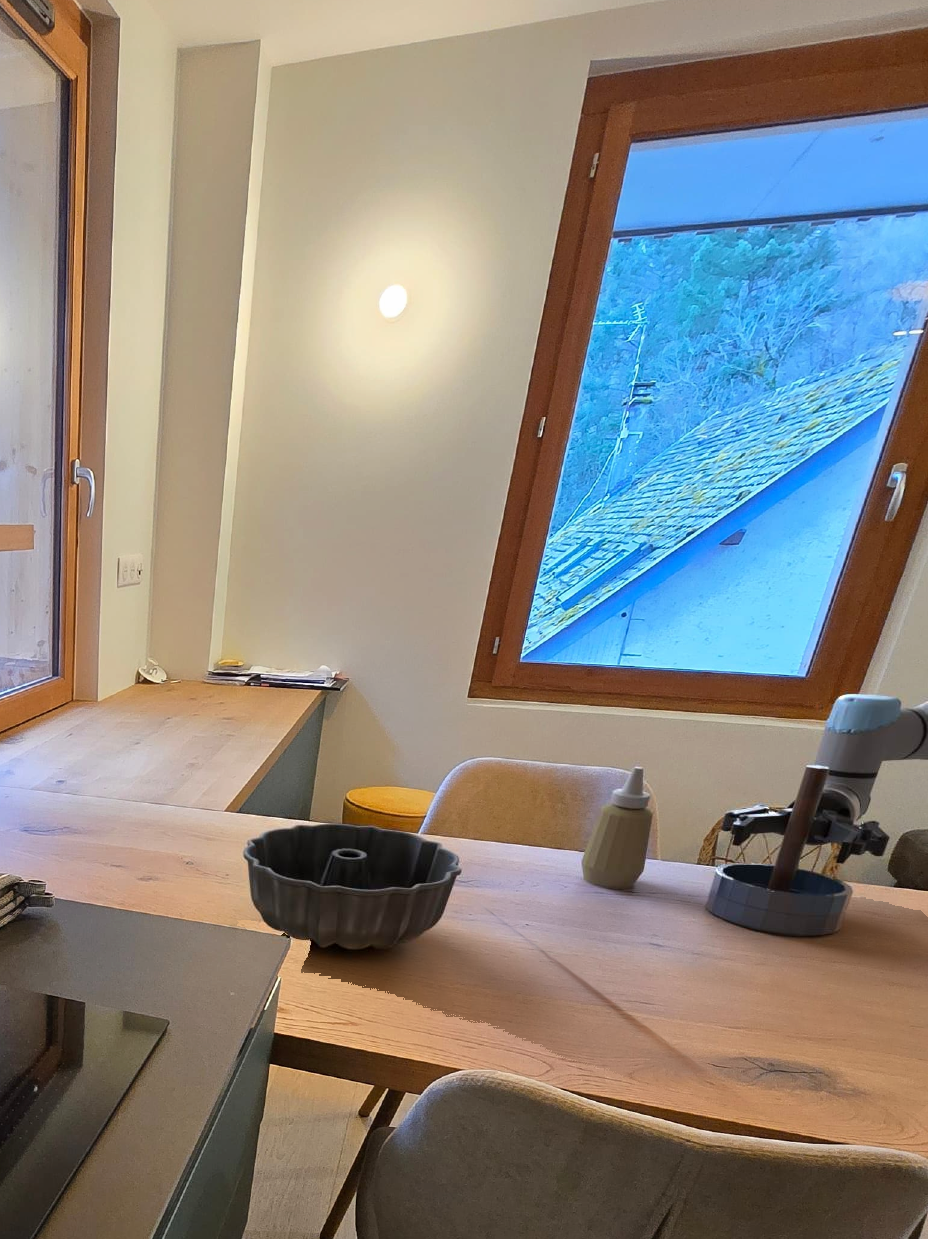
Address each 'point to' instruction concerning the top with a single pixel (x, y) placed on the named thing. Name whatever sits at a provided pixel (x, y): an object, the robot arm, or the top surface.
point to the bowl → (778, 900)
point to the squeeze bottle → (620, 837)
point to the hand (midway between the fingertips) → (789, 844)
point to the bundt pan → (349, 883)
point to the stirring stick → (798, 827)
